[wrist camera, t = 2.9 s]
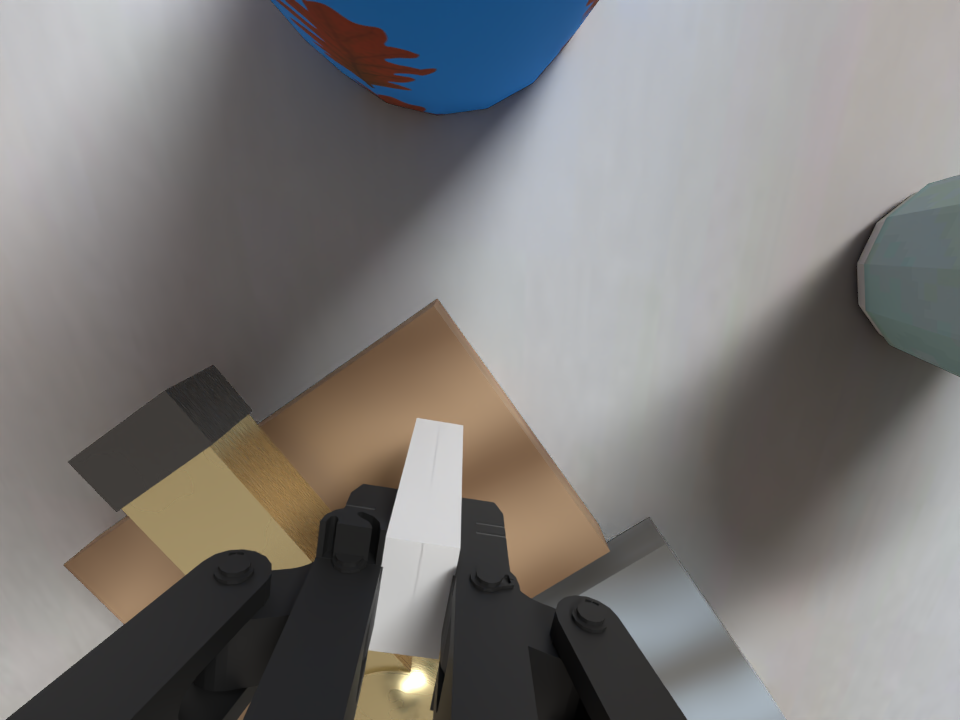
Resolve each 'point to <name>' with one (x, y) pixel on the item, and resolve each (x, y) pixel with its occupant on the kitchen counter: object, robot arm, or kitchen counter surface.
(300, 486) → the swing bar
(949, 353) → the disposable coffee cup
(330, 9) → the thermos
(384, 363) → the door and jamb
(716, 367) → the kitchen counter surface
